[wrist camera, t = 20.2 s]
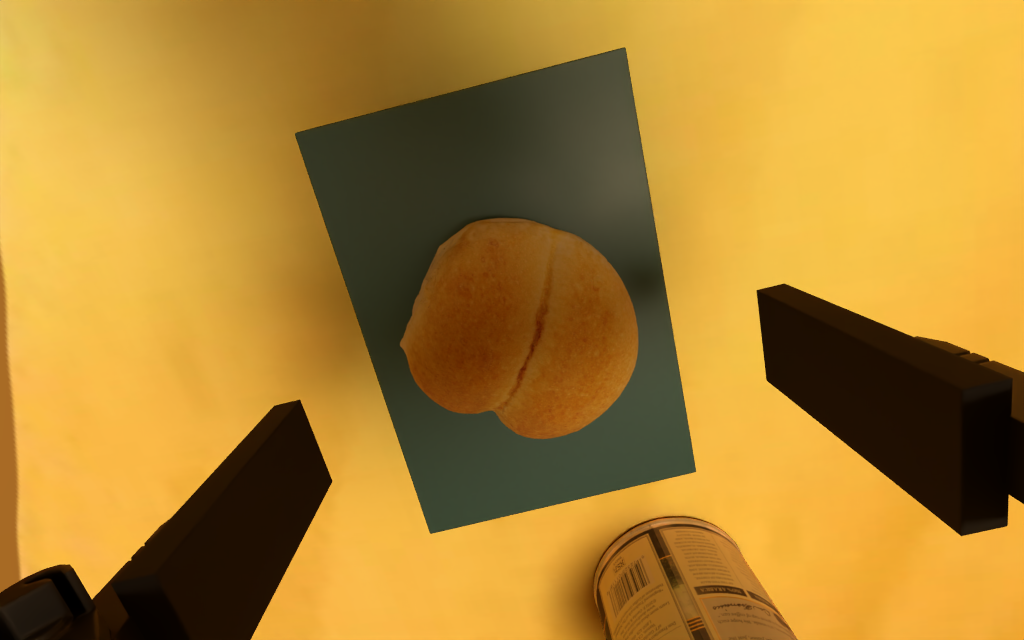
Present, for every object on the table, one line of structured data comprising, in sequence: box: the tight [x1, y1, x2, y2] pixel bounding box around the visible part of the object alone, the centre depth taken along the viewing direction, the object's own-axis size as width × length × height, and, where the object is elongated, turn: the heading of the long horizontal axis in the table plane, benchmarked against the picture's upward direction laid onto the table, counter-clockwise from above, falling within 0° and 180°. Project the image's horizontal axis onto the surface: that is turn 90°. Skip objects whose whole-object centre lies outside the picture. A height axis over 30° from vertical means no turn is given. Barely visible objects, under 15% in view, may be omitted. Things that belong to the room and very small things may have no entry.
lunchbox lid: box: [295, 48, 696, 534], centre depth 22 cm, size 18×13×1 cm
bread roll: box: [400, 218, 638, 439], centre depth 20 cm, size 8×9×4 cm
